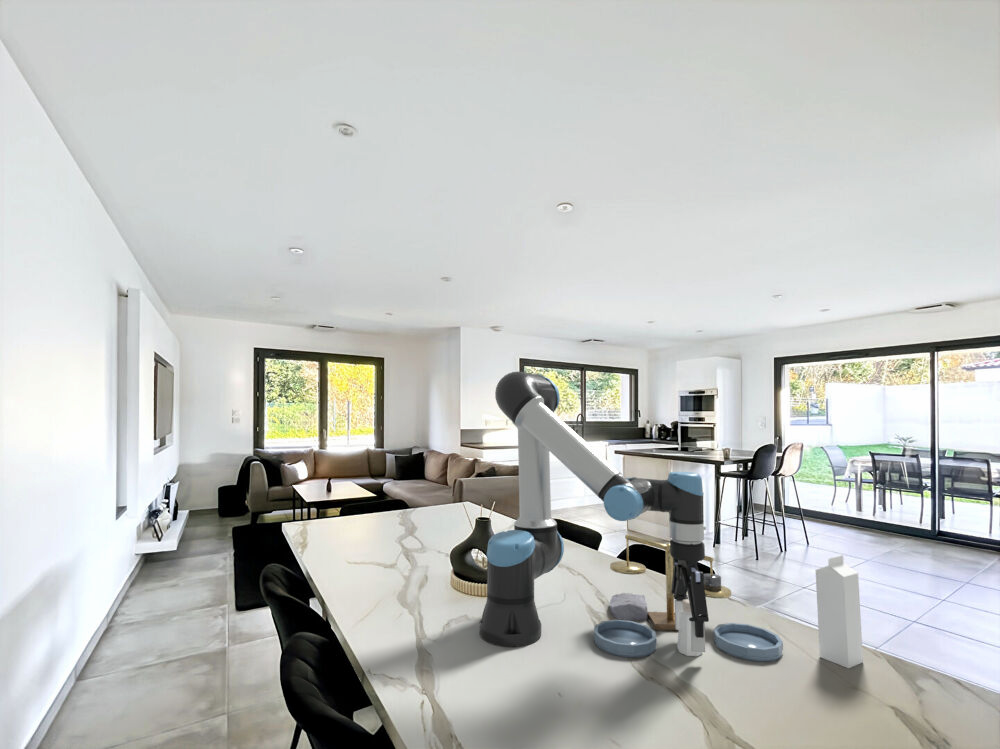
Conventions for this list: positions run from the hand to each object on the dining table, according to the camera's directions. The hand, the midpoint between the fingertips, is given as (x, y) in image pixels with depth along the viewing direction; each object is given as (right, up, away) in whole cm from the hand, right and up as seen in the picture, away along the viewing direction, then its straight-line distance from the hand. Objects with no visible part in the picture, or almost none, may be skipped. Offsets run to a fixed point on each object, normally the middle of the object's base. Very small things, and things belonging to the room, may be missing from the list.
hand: (689, 639), depth 114 cm
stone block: (-8, -5, +23) cm, 25 cm away
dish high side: (-14, -3, +3) cm, 15 cm away
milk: (+32, -3, -4) cm, 32 cm away
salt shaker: (0, -3, 0) cm, 3 cm away
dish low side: (+14, -3, +2) cm, 15 cm away
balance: (+1, -4, +15) cm, 15 cm away
